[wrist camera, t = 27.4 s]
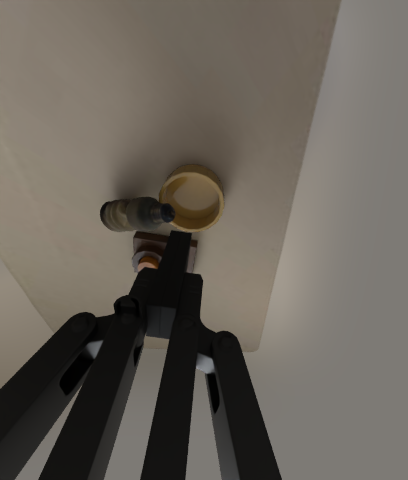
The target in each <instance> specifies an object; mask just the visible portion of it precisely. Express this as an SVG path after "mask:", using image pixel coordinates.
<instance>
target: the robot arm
mask: <svg viewBox="0 0 408 480" xmlns="http://www.w3.org/2000/svg"><path fill="white" fill-rule="evenodd" d="M191 236H192V233H186V232H179V231H173V230H171V233H170V236H169V238H168V241H167V244H166V247H165V250H164V253H163V255H162V258H161V261H160V264H159V267H158V269H156V268H149V267H144V268H143V269H142V270H140V271H139V273H138V275H137V277H136V280H135V281H134V284H133V286H132V288H131V290H130V292H129V295H126V296H122V297H120V298H119V299H117V300H116V301H115V303H114V310H115V313H114V314H112V315H108V316H102V317H95V315H93V314H92V313H88V312H83V313H78V314H76V315H74V316H72V317H71V318H70V319H69V320H68V321H67V322H66V323H65V324H64V325H63V326H62V327H61V328H60V329H59V330H58V331H57V332H56V333H55V334H54V335H53V336H52V337H51V338H50V339H49V340H48V341H47V342H46V343H45V344H44V345H43V346H42V347H41V348H40V349H39V350H38V351H37V352H36V353H35V354H34V355H33V356H32V357H31V358H30V359H29V360H28V362H26V363H25V364H24V365H23V367H21V369H20V370H19V371H18V372H17V373H16V374H15V375H14V376H13V377H12V378H11V379H10V380H9V381H8V382H7V383H6V384H5V385H4V386H3V387H2V388H1V389H0V480H15V478H16V477H17V476H18V474H19V473H20V471H21V470H22V468H23V467H24V466H25V464H26V463H27V461H28V460H29V459H30V457H31V456H32V454H33V453H34V452H35V450H36V449H37V447H38V446H39V444H40V443H41V441H42V440H43V439H44V437H45V436H46V435H47V433H48V432H49V430H50V429H51V428H52V426H53V425H54V423H55V422H56V421H57V419H58V418H59V416H60V415H61V414H62V412H63V411H64V409H65V408H66V406H67V405H68V404H69V402H70V401H71V399H72V398H73V396H74V395H75V394H76V392H77V391H78V390H79V388H80V387H81V385H82V384H83V385H82V387H81V389H80V391H79V393H78V396H77V398H76V400H75V402H74V404H73V406H72V408H71V411H70V413H69V415H68V417H67V419H66V422H65V424H64V426H63V428H62V430H61V432H60V434H59V436H58V438H57V441H56V443H55V445H54V447H53V449H52V451H51V453H50V455H49V458H48V460H47V462H46V464H45V466H44V468H43V471H42V473H41V475H40V477H39V479H38V480H104V477H105V473H106V470H107V466H108V463H109V460H110V457H111V453H112V450H113V447H114V443H115V440H116V436H117V433H118V429H119V426H120V423H121V420H122V416H123V413H124V410H125V406H126V403H127V400H128V396H129V393H130V390H131V386H132V383H133V380H134V376H135V373H136V370H137V366H138V363H139V360H140V356H141V353H142V350H143V345H144V337H145V334H146V336H150V337H157V338H165V339H170V340H169V344H168V349H167V354H166V359H165V364H164V368H163V373H162V378H161V383H160V388H159V392H158V397H157V402H156V407H155V412H154V417H153V422H152V426H151V431H150V436H149V440H148V446H147V450H146V455H145V460H144V464H143V469H142V474H141V479H140V480H185V476H186V465H187V455H188V444H189V434H190V423H191V412H192V401H193V390H194V380H195V369H196V368H197V369H199V370H201V371H203V372H205V378H206V384H207V390H208V396H209V402H210V408H211V415H212V421H213V427H214V434H215V440H216V446H217V452H218V459H219V464H220V471H221V477H222V480H282V478H281V475H280V473H279V469H278V466H277V462H276V459H275V456H274V453H273V450H272V446H271V443H270V440H269V437H268V433H267V430H266V427H265V424H264V421H263V417H262V414H261V411H260V408H259V405H258V401H257V398H256V395H255V392H254V388H253V385H252V382H251V379H250V376H249V372H248V369H247V366H246V363H245V360H244V356H243V353H242V350H241V347H240V343H239V341H238V339H237V337H236V336H235V335H234V334H232V333H230V332H228V331H220V332H217V333H216V332H214V331H212V330H210V329H208V328H206V327H205V326H204V325H203V323H202V322H201V319H200V308H201V297H202V286H203V280H202V277H201V275H200V274H194V273H187V272H186V271H187V266H188V260H189V252H190V244H191ZM83 382H84V383H83Z"/></svg>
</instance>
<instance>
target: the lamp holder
mask: <svg viewBox="0 0 408 480" xmlns="http://www.w3.org/2000/svg"><path fill="white" fill-rule="evenodd" d="M159 203H168V204H170V205H171V206H172V207H173V208H174V210H175V213H176V215H175V218H174V220H173V221H171V222H170V224H171V225H173V226H174V227H176V228H178V229H180V230H183V231H186V232H200V231H203V230H206V229H209V228H210V227H212V226H213V225H214V224H216V223H217V221H218V220H219V219H220V217H221V216H222V213H223V209H224V193H223V187H222V184H221V182H220V180H219V178H218V177H217V176H216V174H214V173H213V172H212V171H211V170H210V169H208V168H206V167H203V166H200V165H194V164H190V165H184V166H181V167H179V168H177V169H176V170H174V171H173V172H172V173H171V174H170V175H169V176H168V177H167V179H166V181H165V183H164V184H163V186H162V189H161V191H160V193H159Z"/></svg>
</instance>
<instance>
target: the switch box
mask: <svg viewBox="0 0 408 480" xmlns="http://www.w3.org/2000/svg"><path fill="white" fill-rule="evenodd" d="M168 238H169V236H163V235H157V234H151V233H144V232H138V231H137V232H136V234H135V235H134V237H133V245H134V256H133V258H132V265H133V267H134V270H135V272H136V273H139V271H138V265H139V263H140V260H141V259H142V258H143V257H146V256H150V257H153V258H155V259H156V260H157V261H158V263H159V264H160V261H161V258H162V255H163V253H164V250H165V247H166V244H167V241H168ZM196 248H197V241H195V240H191V244H190V252H189V260H188V266H187V271H186V272H187V273H192V272H193V266H194V260H195V254H196ZM158 267H159V266H158Z"/></svg>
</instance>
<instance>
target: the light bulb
mask: <svg viewBox="0 0 408 480" xmlns="http://www.w3.org/2000/svg"><path fill="white" fill-rule="evenodd" d="M175 215H176V213H175V210H174V208H173V207H172V206H171V205H170V204H168V203H159V202H158V201H157V200H156V199H154V198H151V197H139V198H135V199H133V200H130V199H126V200H124V199H123V200H114V201H111V202H106V203H105V204H104V205H103V206H102V208H101V210H100V217H101V221H102V222H103V224H104V225H105V226H106V227H107V228H108V229H110V230H112V231H116V232H124V231H134V230H137V231H152V230H155V229H157V228H158V227H159V226H160V225H161V224H162V223H164V222H166V223H170V222H171V221H173V220H174V218H175Z"/></svg>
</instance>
